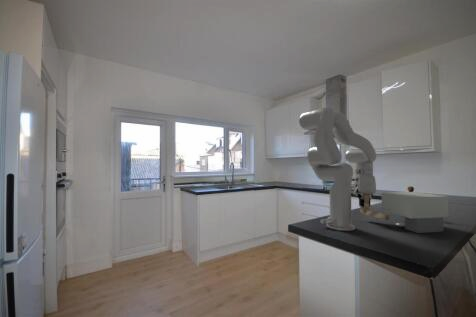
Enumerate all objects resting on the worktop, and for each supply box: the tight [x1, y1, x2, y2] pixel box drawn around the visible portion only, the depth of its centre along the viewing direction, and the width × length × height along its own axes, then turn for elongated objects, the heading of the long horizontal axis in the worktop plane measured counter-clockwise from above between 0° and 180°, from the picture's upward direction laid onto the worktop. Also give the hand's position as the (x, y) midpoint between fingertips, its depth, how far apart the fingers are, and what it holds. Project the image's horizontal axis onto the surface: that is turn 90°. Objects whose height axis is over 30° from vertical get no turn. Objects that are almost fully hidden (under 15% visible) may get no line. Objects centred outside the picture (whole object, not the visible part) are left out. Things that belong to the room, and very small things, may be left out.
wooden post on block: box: [359, 194, 390, 221], centre depth 110 cm, size 16×3×12 cm, turn 9°
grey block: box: [381, 191, 449, 234], centre depth 105 cm, size 20×17×16 cm
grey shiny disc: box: [395, 222, 405, 228], centre depth 107 cm, size 5×5×1 cm
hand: (364, 206), depth 116 cm, fingers closed on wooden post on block, 3 cm apart
